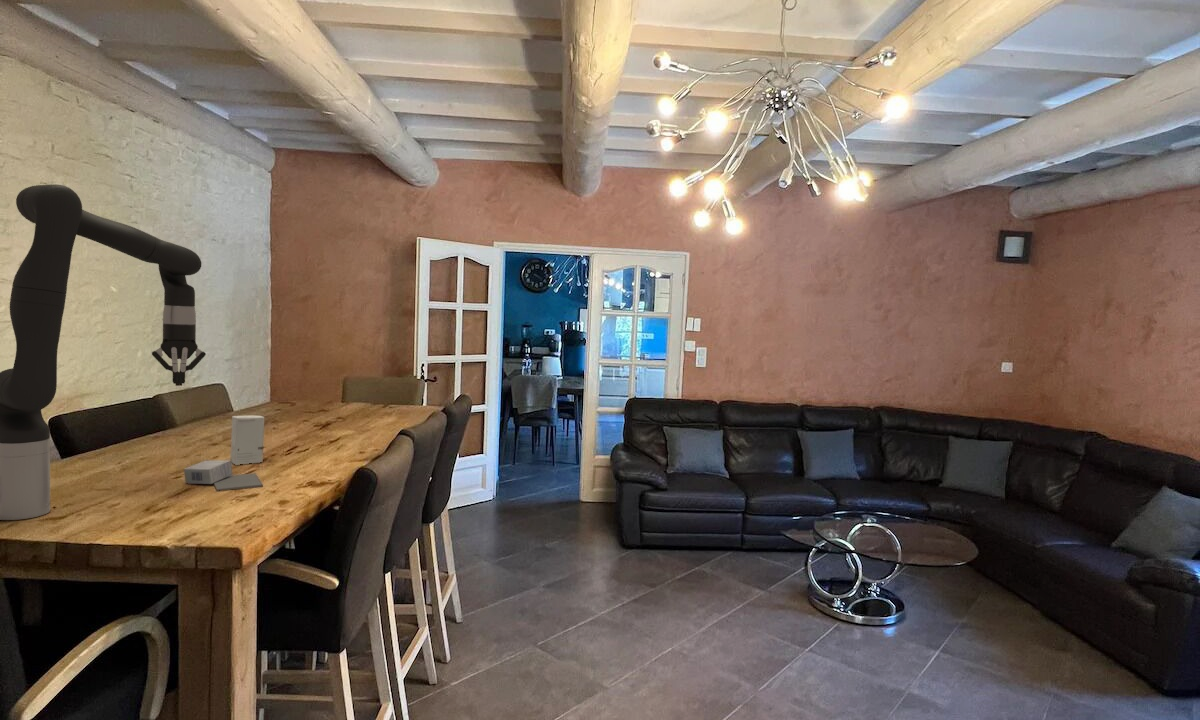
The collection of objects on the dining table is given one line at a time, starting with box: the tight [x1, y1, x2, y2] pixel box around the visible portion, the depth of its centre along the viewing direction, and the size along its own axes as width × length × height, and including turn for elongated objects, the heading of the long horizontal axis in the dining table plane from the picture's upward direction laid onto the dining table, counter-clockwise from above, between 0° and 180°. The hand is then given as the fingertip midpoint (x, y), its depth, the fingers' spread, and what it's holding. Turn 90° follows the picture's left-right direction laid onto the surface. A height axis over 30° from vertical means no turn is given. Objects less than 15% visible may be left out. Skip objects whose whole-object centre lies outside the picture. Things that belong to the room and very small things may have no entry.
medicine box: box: [183, 459, 233, 485], centre depth 177 cm, size 8×4×9 cm
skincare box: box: [229, 414, 265, 466], centre depth 200 cm, size 8×6×15 cm
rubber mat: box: [213, 472, 264, 492], centre depth 177 cm, size 11×14×1 cm
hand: (178, 385), depth 174 cm, fingers closed
